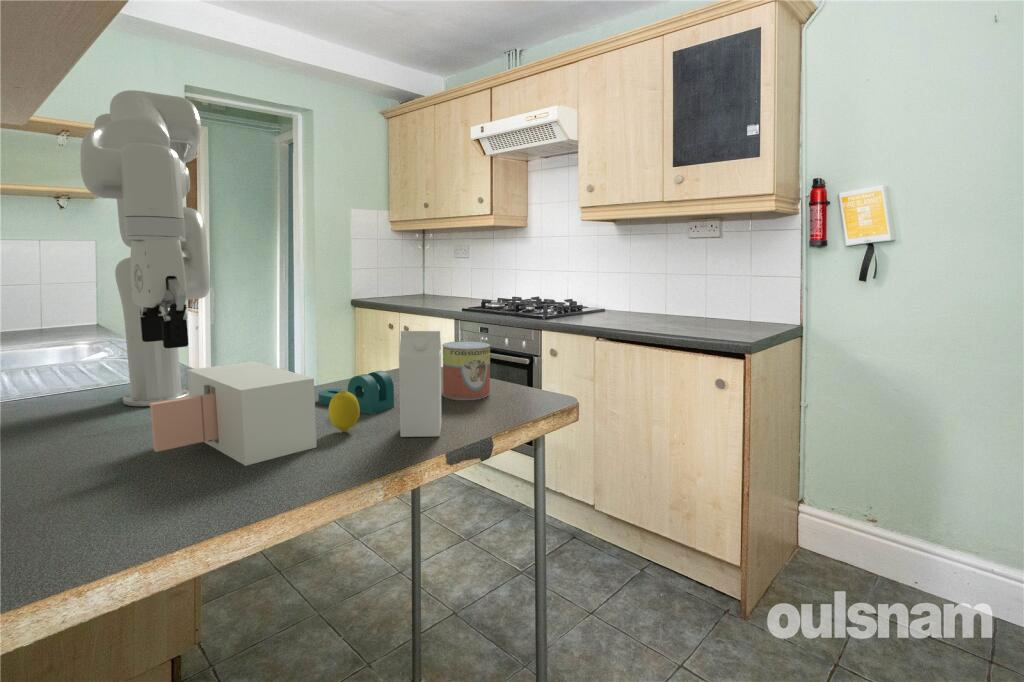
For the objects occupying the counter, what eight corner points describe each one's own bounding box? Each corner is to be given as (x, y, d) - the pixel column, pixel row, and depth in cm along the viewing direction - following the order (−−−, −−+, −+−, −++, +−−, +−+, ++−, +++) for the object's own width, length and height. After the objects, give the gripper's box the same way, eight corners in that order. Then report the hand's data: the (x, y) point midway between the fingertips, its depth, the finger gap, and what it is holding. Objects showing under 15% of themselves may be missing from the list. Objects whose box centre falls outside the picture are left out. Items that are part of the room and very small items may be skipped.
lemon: (332, 438, 101) (330, 394, 100) (326, 429, 106) (325, 388, 105) (363, 434, 104) (362, 391, 103) (356, 426, 109) (355, 385, 108)
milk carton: (404, 426, 109) (402, 328, 106) (441, 425, 110) (440, 328, 107) (400, 437, 102) (398, 333, 99) (439, 437, 103) (439, 333, 100)
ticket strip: (156, 451, 88) (152, 404, 86) (153, 450, 88) (149, 403, 87) (270, 427, 101) (268, 385, 100) (267, 425, 102) (264, 384, 101)
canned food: (454, 402, 127) (454, 349, 126) (435, 391, 137) (435, 343, 135) (498, 396, 133) (499, 346, 131) (477, 387, 143) (477, 340, 141)
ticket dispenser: (240, 467, 87) (235, 391, 85) (187, 436, 102) (182, 370, 100) (316, 447, 97) (313, 378, 95) (258, 421, 111) (254, 361, 109)
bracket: (394, 408, 123) (393, 372, 122) (371, 415, 117) (370, 378, 116) (335, 396, 132) (334, 363, 131) (312, 403, 126) (310, 368, 125)
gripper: (110, 231, 88) (119, 341, 90) (145, 227, 76) (156, 353, 79) (164, 233, 93) (172, 336, 96) (205, 230, 82) (213, 347, 84)
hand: (164, 344), depth 87 cm, fingers open, 9 cm apart
